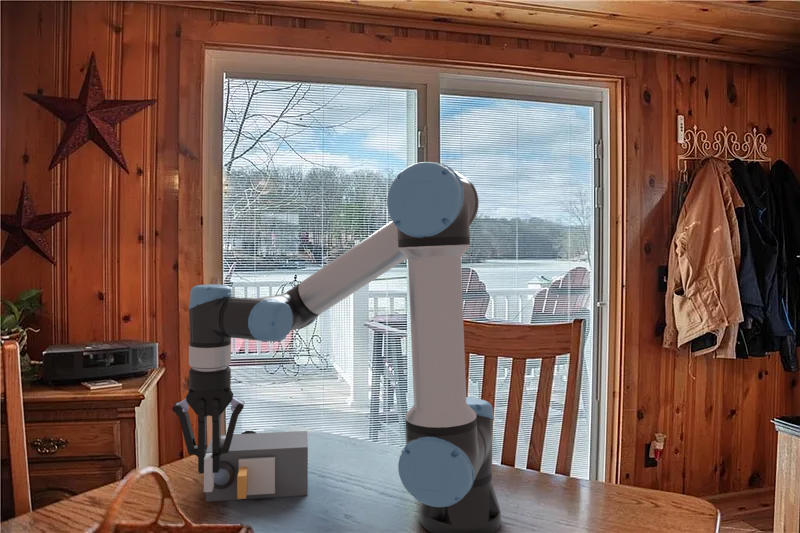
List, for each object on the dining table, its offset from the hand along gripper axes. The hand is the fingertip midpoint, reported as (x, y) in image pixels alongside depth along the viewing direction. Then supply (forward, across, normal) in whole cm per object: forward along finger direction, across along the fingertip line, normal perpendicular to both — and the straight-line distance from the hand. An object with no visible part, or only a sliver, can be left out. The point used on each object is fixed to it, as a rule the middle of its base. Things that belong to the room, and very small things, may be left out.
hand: (209, 488), depth 110 cm
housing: (+5, -9, -10) cm, 14 cm away
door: (+3, -9, -2) cm, 9 cm away
